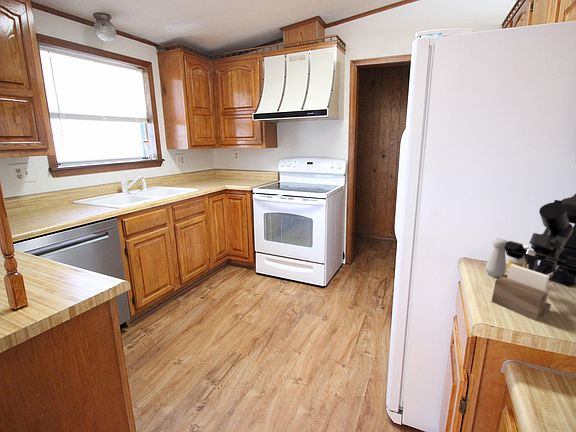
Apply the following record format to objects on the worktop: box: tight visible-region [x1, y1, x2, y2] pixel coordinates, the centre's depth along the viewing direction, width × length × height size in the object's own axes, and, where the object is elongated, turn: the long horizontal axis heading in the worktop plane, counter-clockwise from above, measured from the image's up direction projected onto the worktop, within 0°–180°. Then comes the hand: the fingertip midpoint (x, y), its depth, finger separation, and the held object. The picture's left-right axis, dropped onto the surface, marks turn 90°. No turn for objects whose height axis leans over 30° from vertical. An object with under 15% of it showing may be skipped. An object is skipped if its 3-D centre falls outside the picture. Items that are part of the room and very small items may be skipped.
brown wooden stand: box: [491, 276, 552, 321], centre depth 88 cm, size 8×11×7 cm
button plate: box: [506, 264, 550, 292], centre depth 88 cm, size 2×9×8 cm, turn 32°
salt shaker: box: [485, 238, 508, 279], centre depth 106 cm, size 6×6×13 cm
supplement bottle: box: [506, 243, 530, 272], centre depth 109 cm, size 5×5×10 cm
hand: (528, 282), depth 89 cm, fingers closed, pressing on button plate
